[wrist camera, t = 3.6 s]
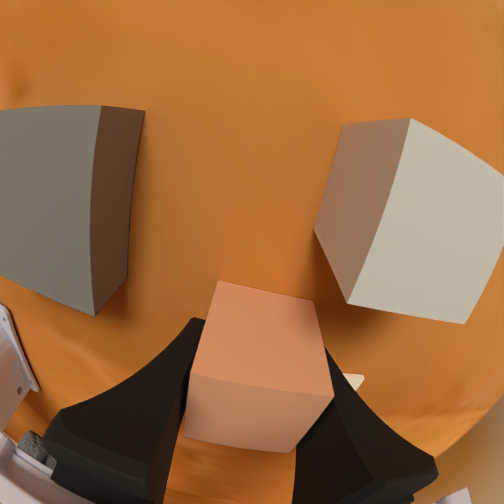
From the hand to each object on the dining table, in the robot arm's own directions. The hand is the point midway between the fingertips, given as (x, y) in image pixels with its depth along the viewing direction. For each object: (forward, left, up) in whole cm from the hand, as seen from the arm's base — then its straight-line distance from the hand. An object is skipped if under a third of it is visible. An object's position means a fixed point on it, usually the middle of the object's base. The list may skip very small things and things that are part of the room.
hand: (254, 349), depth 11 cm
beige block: (+7, -3, -2) cm, 8 cm away
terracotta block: (0, 0, -1) cm, 1 cm away
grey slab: (+4, +10, -1) cm, 11 cm away
